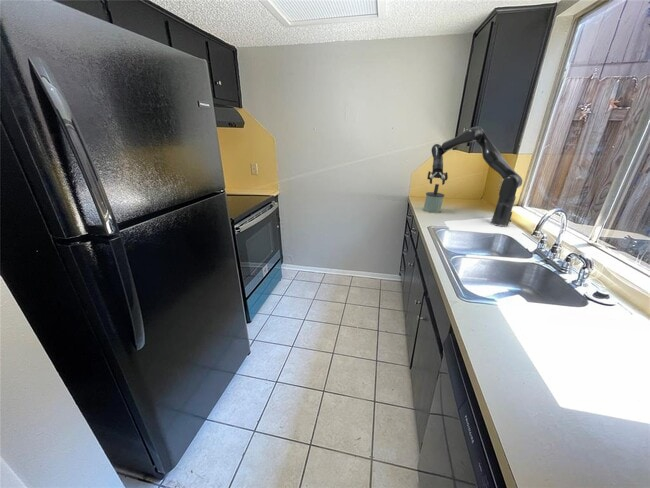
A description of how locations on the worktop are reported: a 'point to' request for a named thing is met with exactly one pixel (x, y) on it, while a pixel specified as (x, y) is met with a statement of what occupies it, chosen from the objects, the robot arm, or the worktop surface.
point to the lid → (435, 192)
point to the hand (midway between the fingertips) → (437, 183)
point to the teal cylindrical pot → (433, 204)
